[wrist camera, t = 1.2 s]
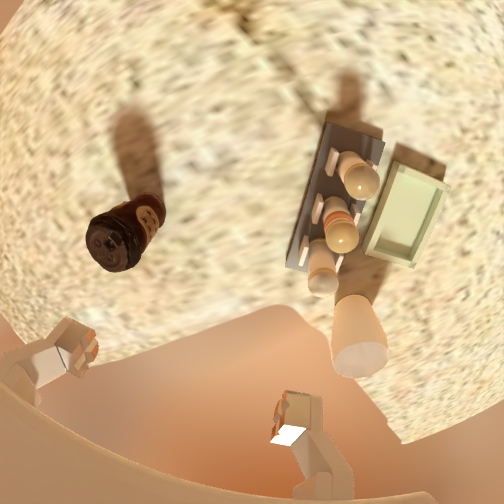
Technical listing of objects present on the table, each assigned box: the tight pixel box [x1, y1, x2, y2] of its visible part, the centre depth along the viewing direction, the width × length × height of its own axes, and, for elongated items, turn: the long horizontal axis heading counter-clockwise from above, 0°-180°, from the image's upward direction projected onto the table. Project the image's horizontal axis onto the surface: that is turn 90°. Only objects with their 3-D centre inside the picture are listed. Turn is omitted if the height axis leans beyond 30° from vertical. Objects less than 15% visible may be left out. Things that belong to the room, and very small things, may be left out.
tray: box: [362, 161, 450, 269], centre depth 36 cm, size 14×9×2 cm, turn 169°
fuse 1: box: [307, 237, 339, 297], centre depth 37 cm, size 4×4×9 cm
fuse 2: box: [335, 151, 380, 200], centre depth 30 cm, size 4×4×9 cm
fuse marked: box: [321, 196, 359, 253], centre depth 34 cm, size 4×4×9 cm
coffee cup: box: [86, 193, 166, 273], centre depth 38 cm, size 9×8×13 cm
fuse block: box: [285, 122, 385, 273], centre depth 37 cm, size 22×8×5 cm, turn 169°
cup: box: [330, 295, 389, 378], centre depth 42 cm, size 9×9×12 cm
